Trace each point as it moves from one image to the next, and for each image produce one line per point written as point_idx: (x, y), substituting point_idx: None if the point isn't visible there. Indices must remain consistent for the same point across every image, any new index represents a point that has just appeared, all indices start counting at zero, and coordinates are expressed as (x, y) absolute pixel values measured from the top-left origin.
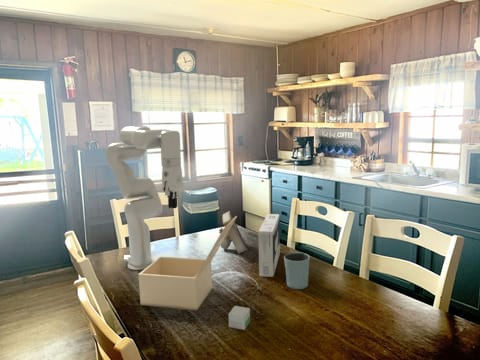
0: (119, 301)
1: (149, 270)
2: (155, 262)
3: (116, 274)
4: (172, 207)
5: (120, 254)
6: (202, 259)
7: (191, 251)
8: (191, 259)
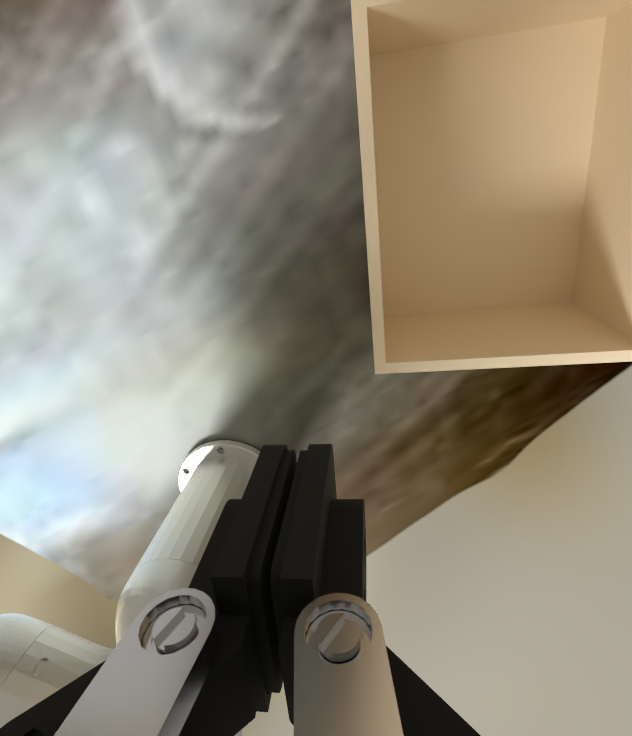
0: (551, 401)
1: (534, 347)
2: (459, 358)
3: None
4: (334, 495)
5: None
6: (360, 69)
7: (18, 362)
8: (374, 158)
